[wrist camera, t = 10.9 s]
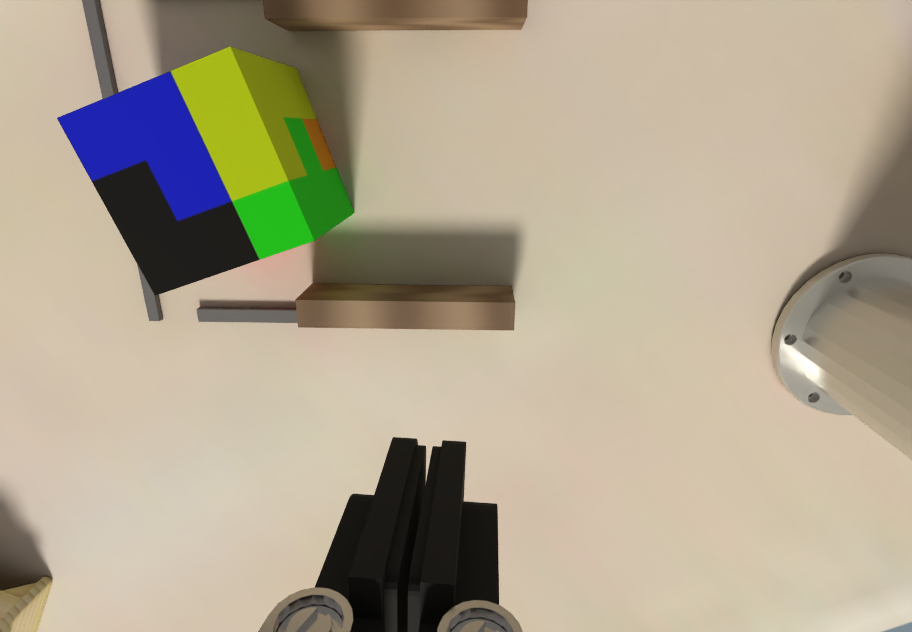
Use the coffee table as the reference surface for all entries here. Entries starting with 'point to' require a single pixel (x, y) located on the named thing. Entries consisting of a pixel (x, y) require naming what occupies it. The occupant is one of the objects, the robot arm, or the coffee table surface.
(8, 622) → the toy sofa
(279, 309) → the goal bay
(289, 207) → the puzzle toy
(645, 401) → the coffee table surface
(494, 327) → the chute
